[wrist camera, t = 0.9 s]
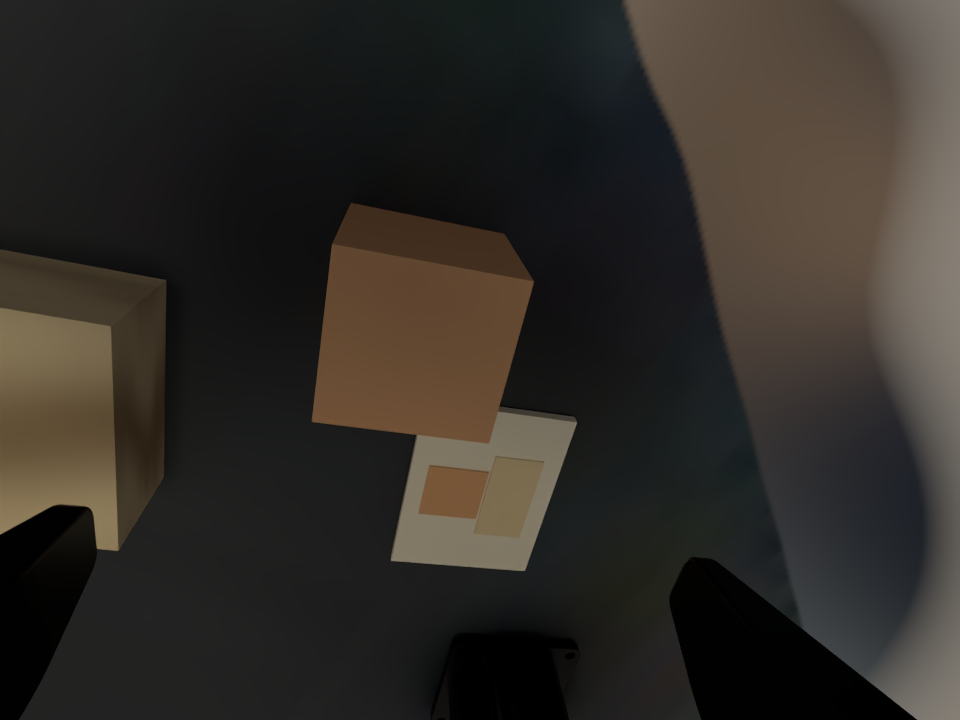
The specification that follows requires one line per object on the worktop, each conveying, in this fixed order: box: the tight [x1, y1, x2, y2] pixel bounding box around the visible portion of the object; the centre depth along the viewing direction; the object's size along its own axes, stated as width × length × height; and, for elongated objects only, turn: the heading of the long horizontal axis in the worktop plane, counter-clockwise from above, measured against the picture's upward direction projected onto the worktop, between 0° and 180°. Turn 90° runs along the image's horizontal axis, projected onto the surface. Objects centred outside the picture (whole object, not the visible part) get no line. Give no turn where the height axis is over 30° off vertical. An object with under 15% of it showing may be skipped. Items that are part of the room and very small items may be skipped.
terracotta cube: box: [312, 203, 534, 444], centre depth 17 cm, size 5×5×5 cm
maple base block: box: [0, 249, 166, 551], centre depth 17 cm, size 8×8×4 cm
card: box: [391, 407, 577, 571], centre depth 23 cm, size 8×6×1 cm
